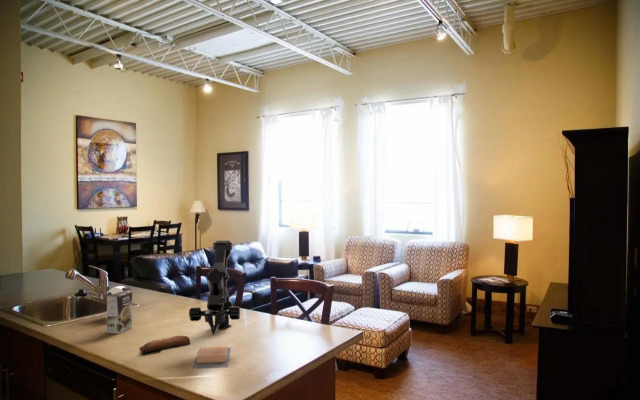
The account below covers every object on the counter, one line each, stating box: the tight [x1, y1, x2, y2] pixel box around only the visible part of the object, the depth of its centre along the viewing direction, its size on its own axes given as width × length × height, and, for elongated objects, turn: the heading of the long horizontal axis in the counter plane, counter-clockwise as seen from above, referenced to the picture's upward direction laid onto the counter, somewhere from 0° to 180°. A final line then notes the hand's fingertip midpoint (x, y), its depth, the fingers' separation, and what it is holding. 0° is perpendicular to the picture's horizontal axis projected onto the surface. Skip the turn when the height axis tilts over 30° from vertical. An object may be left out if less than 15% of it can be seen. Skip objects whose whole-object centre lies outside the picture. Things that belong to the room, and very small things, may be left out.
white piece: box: [105, 284, 131, 320], centre depth 207 cm, size 12×11×15 cm
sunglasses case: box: [139, 335, 191, 355], centre depth 166 cm, size 18×7×7 cm, turn 126°
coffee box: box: [106, 291, 133, 335], centre depth 186 cm, size 9×6×16 cm
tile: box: [196, 345, 228, 363], centre depth 154 cm, size 3×10×9 cm
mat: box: [191, 347, 232, 370], centre depth 155 cm, size 19×12×1 cm, turn 9°
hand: (213, 334), depth 156 cm, fingers closed
